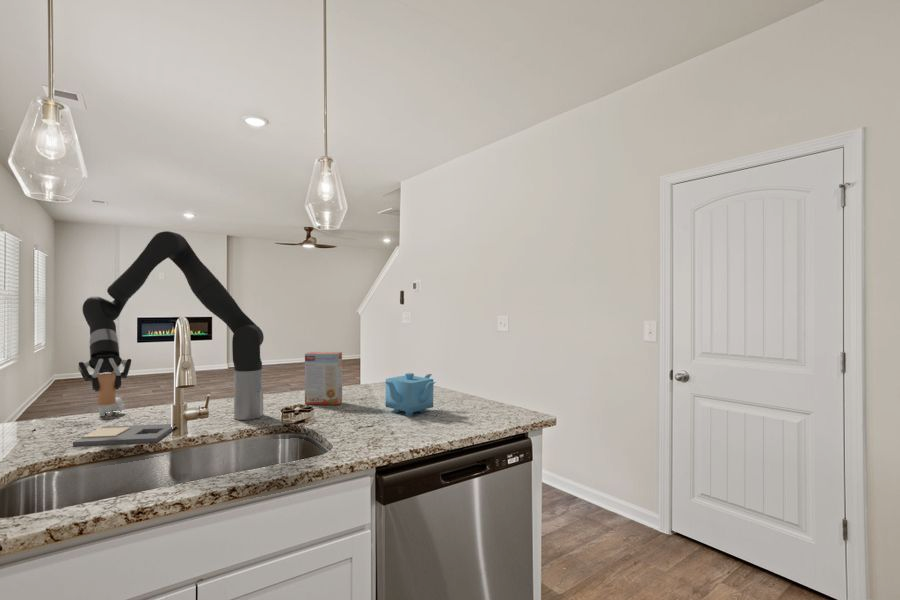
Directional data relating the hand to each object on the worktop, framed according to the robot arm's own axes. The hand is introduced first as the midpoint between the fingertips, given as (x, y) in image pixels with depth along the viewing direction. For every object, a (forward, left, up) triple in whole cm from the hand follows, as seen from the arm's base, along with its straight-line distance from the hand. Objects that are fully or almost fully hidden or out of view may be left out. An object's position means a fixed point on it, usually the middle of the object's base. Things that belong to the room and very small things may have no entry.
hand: (107, 388), depth 142 cm
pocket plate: (-5, -2, -15) cm, 16 cm away
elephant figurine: (+14, -32, -15) cm, 38 cm away
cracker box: (-61, -38, -15) cm, 73 cm away
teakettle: (-95, -18, -15) cm, 98 cm away
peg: (+1, -2, -5) cm, 5 cm away
